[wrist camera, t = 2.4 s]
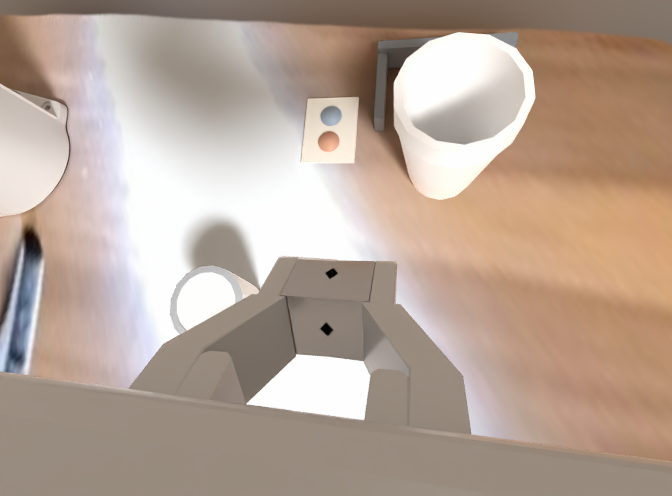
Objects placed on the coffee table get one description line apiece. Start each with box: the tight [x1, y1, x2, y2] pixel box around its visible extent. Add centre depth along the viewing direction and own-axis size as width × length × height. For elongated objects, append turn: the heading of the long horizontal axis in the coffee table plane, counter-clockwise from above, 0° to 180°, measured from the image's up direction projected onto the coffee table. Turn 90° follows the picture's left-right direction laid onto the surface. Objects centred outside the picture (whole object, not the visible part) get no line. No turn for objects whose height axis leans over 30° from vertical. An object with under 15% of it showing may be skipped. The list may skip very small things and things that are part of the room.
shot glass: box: [170, 265, 259, 334], centre depth 34 cm, size 7×7×7 cm
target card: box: [301, 97, 359, 163], centre depth 40 cm, size 8×6×1 cm
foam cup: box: [394, 32, 535, 200], centre depth 31 cm, size 10×9×13 cm
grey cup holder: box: [374, 32, 518, 131], centre depth 37 cm, size 9×14×3 cm, turn 86°
